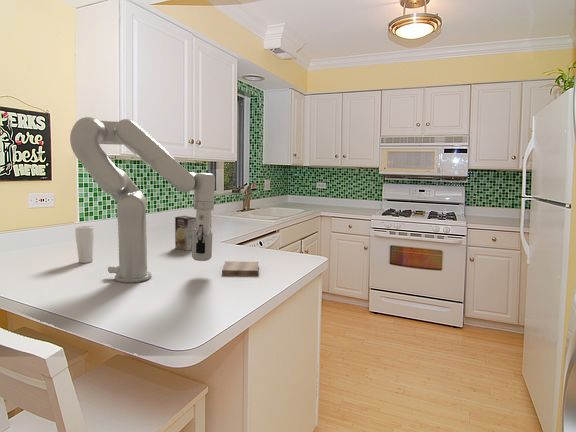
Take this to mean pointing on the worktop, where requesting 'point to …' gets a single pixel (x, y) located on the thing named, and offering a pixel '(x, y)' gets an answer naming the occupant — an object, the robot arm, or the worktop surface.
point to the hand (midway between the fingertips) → (202, 250)
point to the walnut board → (240, 268)
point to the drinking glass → (85, 243)
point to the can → (208, 247)
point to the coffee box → (184, 232)
